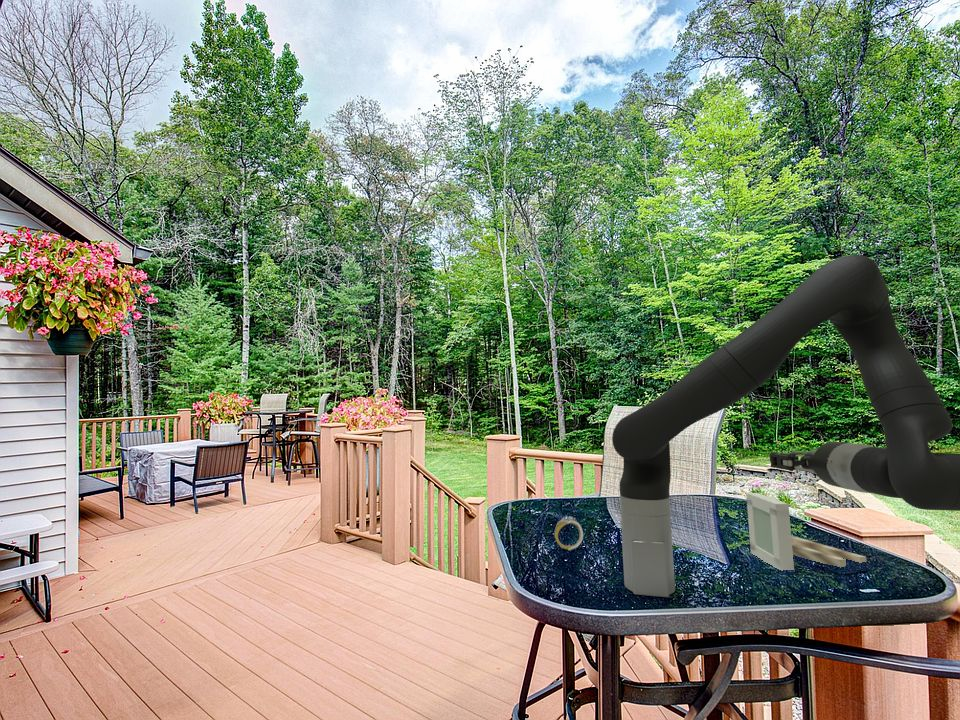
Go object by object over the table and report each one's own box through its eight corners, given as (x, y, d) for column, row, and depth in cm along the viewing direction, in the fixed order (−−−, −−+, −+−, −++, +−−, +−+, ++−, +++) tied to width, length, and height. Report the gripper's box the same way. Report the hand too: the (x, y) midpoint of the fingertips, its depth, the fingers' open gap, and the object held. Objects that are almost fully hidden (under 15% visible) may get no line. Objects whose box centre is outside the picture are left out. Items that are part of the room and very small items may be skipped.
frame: (794, 573, 95) (788, 503, 97) (781, 573, 95) (775, 503, 97) (762, 554, 108) (757, 492, 109) (750, 554, 108) (746, 492, 110)
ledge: (867, 571, 95) (865, 556, 95) (841, 575, 93) (839, 560, 94) (782, 545, 114) (781, 532, 115) (759, 547, 113) (758, 534, 113)
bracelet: (582, 547, 115) (580, 514, 116) (584, 551, 112) (583, 517, 113) (554, 548, 115) (553, 515, 116) (556, 552, 112) (555, 518, 113)
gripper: (897, 442, 74) (831, 437, 90) (804, 444, 76) (755, 438, 92) (904, 490, 73) (835, 476, 89) (809, 490, 75) (758, 477, 91)
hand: (795, 457), depth 91 cm, fingers open, 8 cm apart
